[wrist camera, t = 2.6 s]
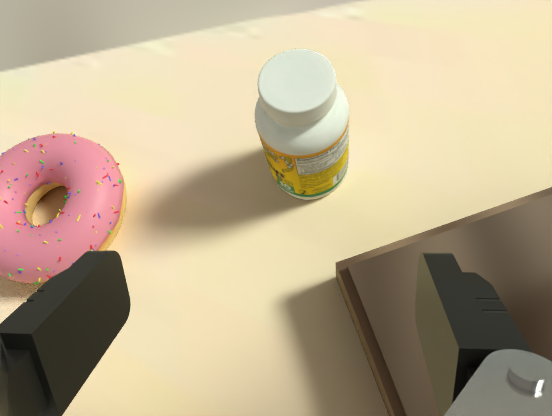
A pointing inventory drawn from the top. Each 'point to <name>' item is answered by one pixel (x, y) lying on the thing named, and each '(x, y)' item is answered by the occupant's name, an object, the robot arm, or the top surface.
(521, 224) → the display podium
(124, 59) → the top surface
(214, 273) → the top surface
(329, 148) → the supplement bottle
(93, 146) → the doughnut
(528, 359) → the robot arm
